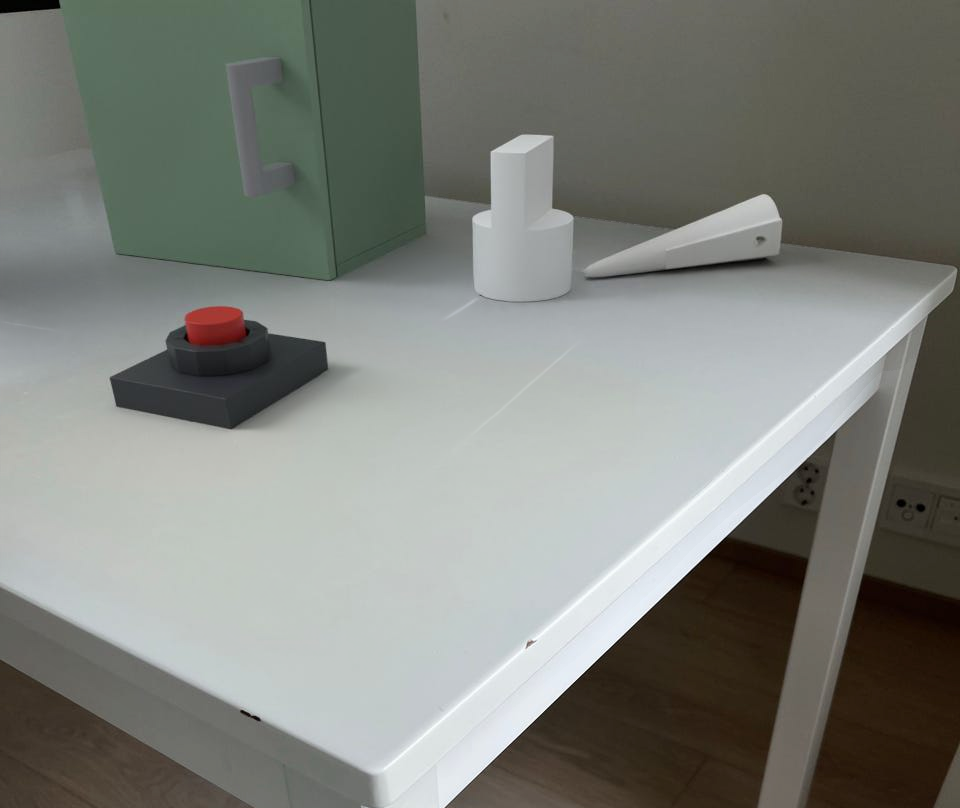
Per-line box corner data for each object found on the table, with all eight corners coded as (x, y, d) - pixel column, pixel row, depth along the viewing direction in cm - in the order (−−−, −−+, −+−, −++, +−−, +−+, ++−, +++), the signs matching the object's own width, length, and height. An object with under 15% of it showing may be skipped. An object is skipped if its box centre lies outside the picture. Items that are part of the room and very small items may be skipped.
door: (294, 298, 90) (254, -23, 76) (73, 268, 99) (1, -22, 85) (336, 277, 95) (306, -27, 81) (122, 250, 105) (63, -26, 91)
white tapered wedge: (567, 280, 99) (749, 244, 102) (587, 305, 95) (778, 267, 97) (565, 221, 96) (754, 185, 98) (586, 245, 91) (784, 206, 93)
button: (223, 352, 69) (218, 326, 68) (177, 344, 70) (172, 319, 69) (257, 334, 71) (254, 309, 70) (212, 327, 73) (208, 303, 72)
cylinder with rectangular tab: (491, 270, 97) (490, 132, 90) (582, 277, 94) (587, 136, 87) (459, 297, 90) (455, 150, 83) (555, 305, 87) (559, 155, 80)
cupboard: (338, 278, 95) (308, -29, 81) (124, 251, 105) (64, -28, 91) (426, 234, 108) (414, -37, 94) (229, 214, 118) (191, -35, 104)
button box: (231, 430, 67) (221, 372, 64) (116, 407, 70) (102, 351, 68) (328, 370, 75) (323, 317, 73) (221, 352, 79) (213, 301, 77)
